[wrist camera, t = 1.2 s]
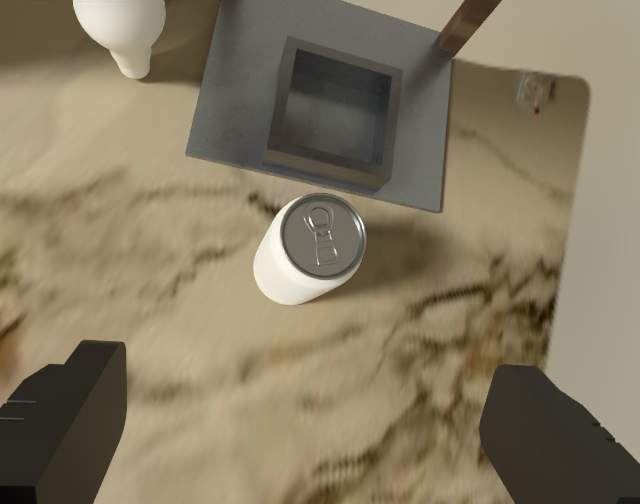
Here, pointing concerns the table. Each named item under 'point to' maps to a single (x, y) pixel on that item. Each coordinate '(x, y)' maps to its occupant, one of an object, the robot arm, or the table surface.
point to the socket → (326, 99)
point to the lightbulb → (124, 29)
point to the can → (310, 249)
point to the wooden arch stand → (465, 23)
